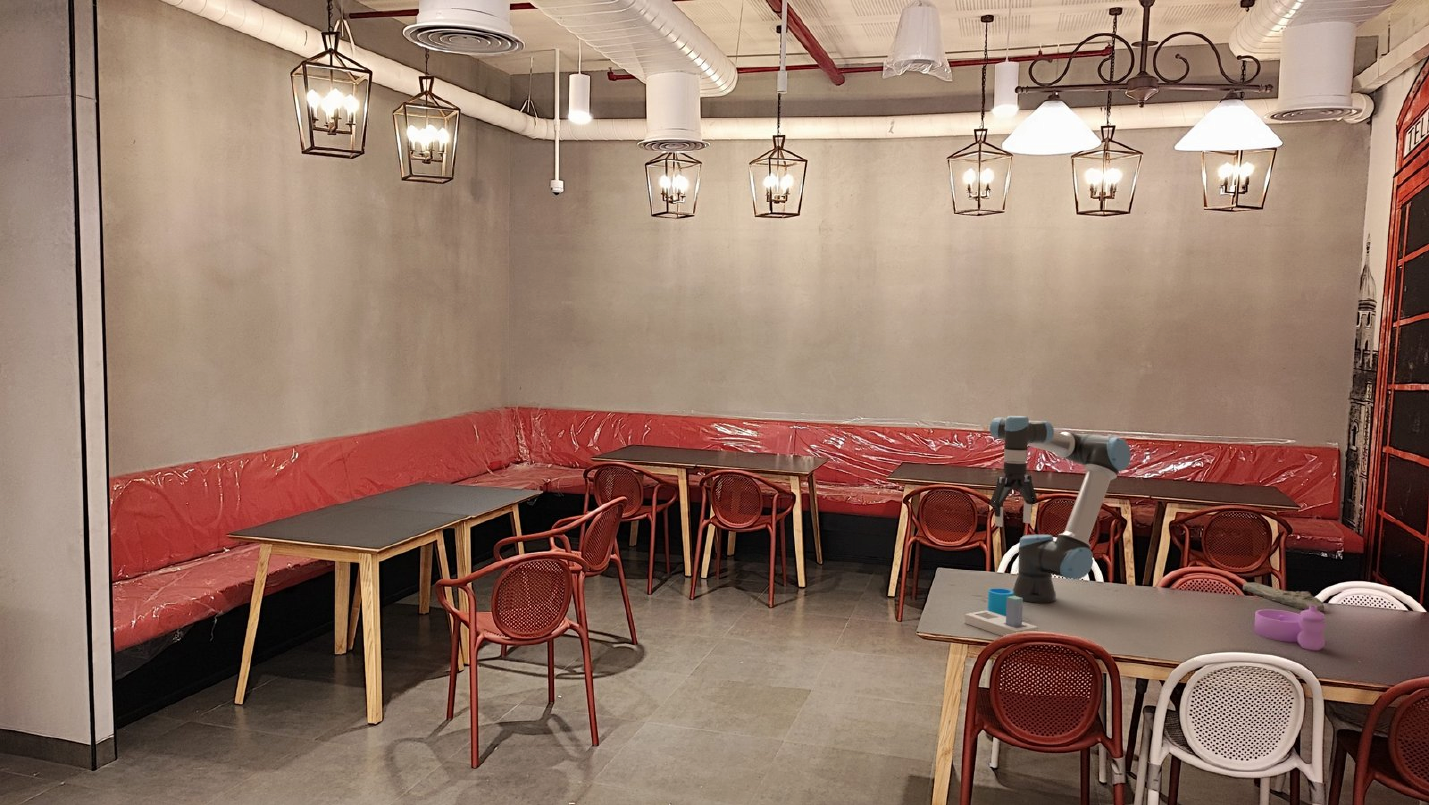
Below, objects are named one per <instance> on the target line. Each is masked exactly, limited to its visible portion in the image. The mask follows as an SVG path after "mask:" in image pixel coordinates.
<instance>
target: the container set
mask: <svg viewBox="0 0 1429 805" xmlns="http://www.w3.org/2000/svg"><path fill="white" fill-rule="evenodd" d="M1254 614H1255V615H1254V630H1253V631H1254V633H1255V634H1256V635H1258V636H1260V637H1262V638H1265V639H1268V640H1275V641H1279V642H1288V643H1298V645H1299V646H1300V647H1301V648H1302V649H1306V650H1309V651H1320V650H1321V649H1323V647H1325V644H1326V638H1325V636H1324V634H1323V633H1322V632H1324V631H1325V629H1326V628H1327V626H1326V625H1327V624H1326V623H1325V620H1326V616H1325V614H1324V613H1323V611H1317V606H1309V610H1305V609H1303V610H1301V611H1300V613H1296V612H1292V611H1287V610H1280V609H1269V608H1268V609H1257V610H1256V611H1255V612H1254Z"/></svg>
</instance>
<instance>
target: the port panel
mask: <svg viewBox="0 0 1429 805" xmlns="http://www.w3.org/2000/svg"><path fill="white" fill-rule="evenodd" d="M964 624H967V625H970V626H973V627H975V628H979V629H980V630H983V631H987V632H989V633H992V634H995V635H999V636H1000V637H1001V636H1002V637H1004V636H1003V635H1006V634H1012V633H1016V632H1023V631H1038V632H1039V626H1038V625H1033V624H1030V623H1027V622H1024V621H1022V626H1020V627H1015V628H1014V627H1011V626H1008V625H1006V616H1003V615H1000V614H997V613H993V612H990V611H988V609H985V610H980V611H974V612H969V613H965V614H964Z"/></svg>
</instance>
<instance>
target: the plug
mask: <svg viewBox="0 0 1429 805" xmlns="http://www.w3.org/2000/svg"><path fill="white" fill-rule="evenodd" d="M1023 602H1024V601H1023V598H1021V597H1017V596H1010V597H1007V605H1006V625H1008V626H1011V627H1014V628H1015V627H1020V626H1022V622H1023V606H1024V605H1023V604H1024V603H1023Z"/></svg>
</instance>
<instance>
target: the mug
mask: <svg viewBox="0 0 1429 805" xmlns="http://www.w3.org/2000/svg"><path fill="white" fill-rule="evenodd" d="M987 593H988V594H987V596H988V598H987V611H990V612H993V613H997V614H1000V615H1003V616H1006V605H1007V597H1010V596H1013V590H1011V589H1006V588H998V587H996V588H995V587H994V588H989V589H988V592H987Z"/></svg>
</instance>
